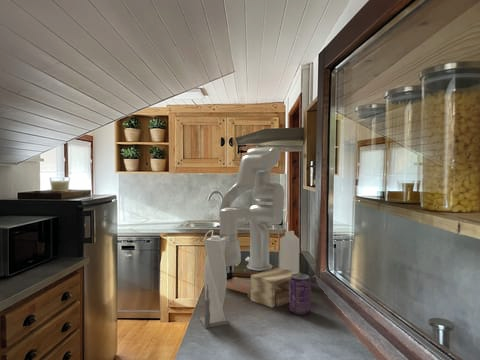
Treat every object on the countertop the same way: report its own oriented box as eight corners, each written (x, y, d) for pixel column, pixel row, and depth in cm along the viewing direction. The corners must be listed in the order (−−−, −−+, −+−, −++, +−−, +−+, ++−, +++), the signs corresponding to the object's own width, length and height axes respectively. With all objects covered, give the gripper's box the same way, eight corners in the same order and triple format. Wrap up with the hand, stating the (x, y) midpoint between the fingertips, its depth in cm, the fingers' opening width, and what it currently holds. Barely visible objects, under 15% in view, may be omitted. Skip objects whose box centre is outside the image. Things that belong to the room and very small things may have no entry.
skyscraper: (198, 317, 109) (198, 230, 109) (222, 313, 112) (222, 228, 112) (205, 328, 102) (205, 234, 101) (230, 323, 105) (231, 232, 104)
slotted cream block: (245, 298, 127) (245, 273, 127) (271, 288, 138) (271, 266, 138) (274, 308, 117) (274, 281, 117) (300, 297, 128) (300, 272, 128)
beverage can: (297, 306, 119) (297, 271, 119) (315, 311, 114) (315, 276, 114) (285, 311, 114) (285, 275, 114) (302, 317, 109) (302, 280, 109)
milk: (299, 282, 147) (299, 231, 147) (290, 285, 143) (290, 232, 142) (288, 279, 151) (288, 229, 151) (279, 282, 147) (279, 231, 147)
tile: (224, 288, 140) (224, 281, 140) (235, 284, 145) (235, 277, 145) (256, 297, 130) (256, 289, 130) (267, 292, 135) (267, 284, 135)
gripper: (221, 241, 136) (221, 287, 136) (247, 236, 147) (247, 279, 147) (209, 238, 142) (209, 283, 142) (235, 234, 152) (235, 276, 152)
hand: (228, 281), depth 144 cm, fingers closed
